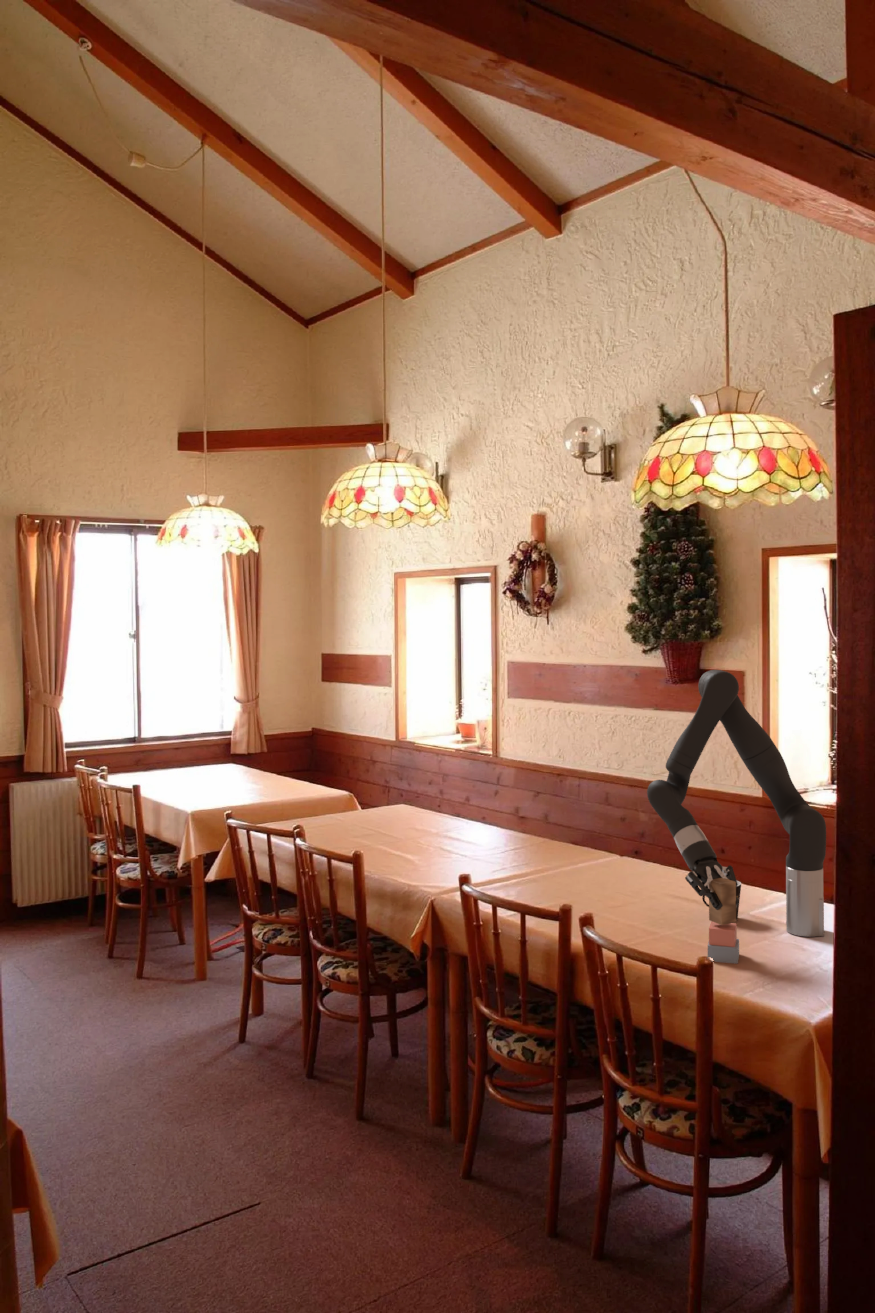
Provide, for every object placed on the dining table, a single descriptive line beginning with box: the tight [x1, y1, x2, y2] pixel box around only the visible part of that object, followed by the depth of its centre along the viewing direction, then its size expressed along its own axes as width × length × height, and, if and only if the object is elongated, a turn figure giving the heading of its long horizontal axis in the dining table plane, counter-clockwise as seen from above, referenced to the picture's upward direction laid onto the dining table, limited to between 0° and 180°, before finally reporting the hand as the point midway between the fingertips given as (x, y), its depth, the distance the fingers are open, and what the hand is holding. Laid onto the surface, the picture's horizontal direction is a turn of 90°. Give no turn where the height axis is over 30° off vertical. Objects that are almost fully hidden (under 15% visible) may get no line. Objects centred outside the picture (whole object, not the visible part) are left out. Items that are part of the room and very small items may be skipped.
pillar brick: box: [708, 878, 737, 925], centre depth 248 cm, size 4×4×10 cm
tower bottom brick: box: [707, 938, 740, 964], centre depth 248 cm, size 7×7×4 cm
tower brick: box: [708, 921, 738, 947], centre depth 248 cm, size 6×6×4 cm
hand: (727, 906), depth 246 cm, fingers closed on pillar brick, 4 cm apart
